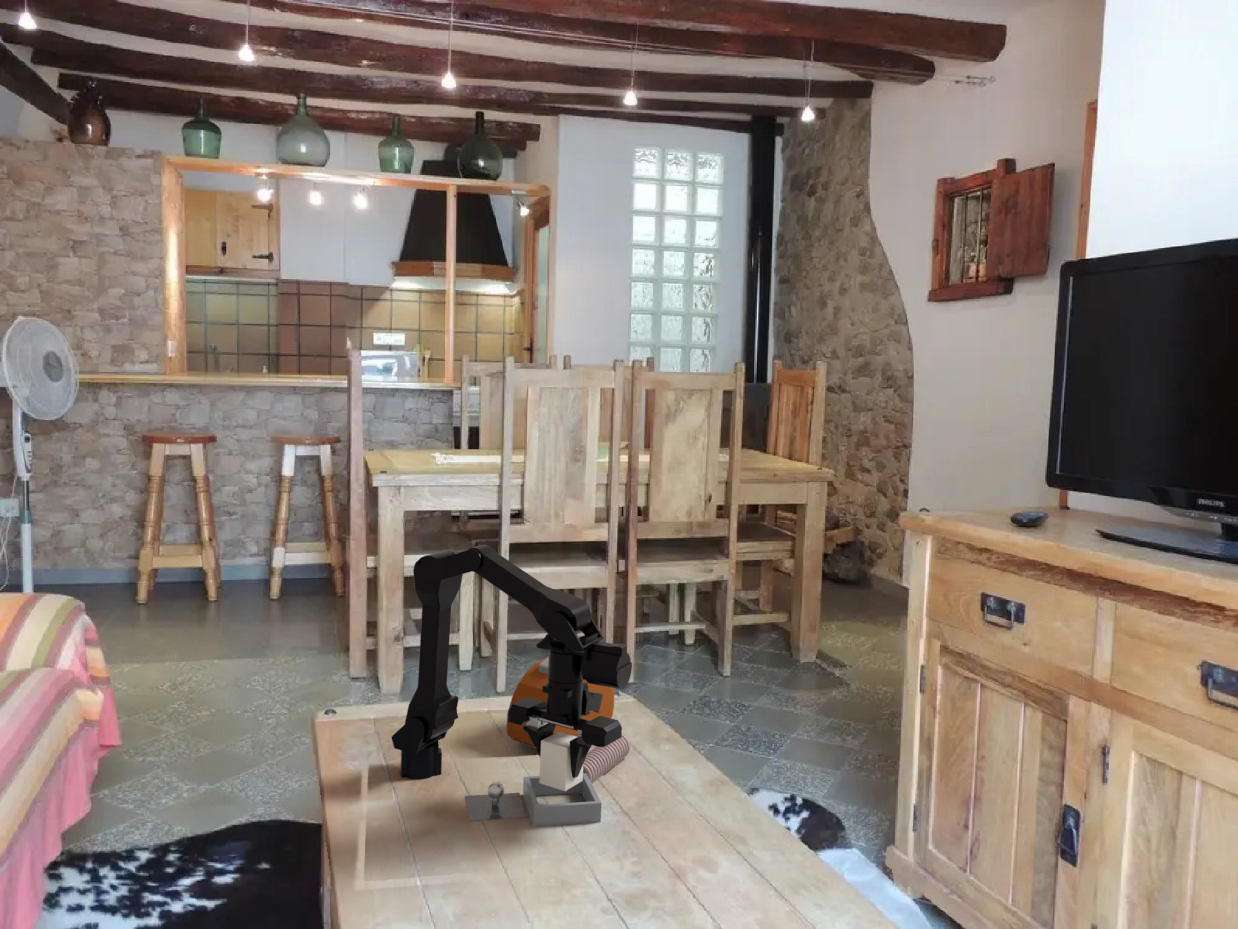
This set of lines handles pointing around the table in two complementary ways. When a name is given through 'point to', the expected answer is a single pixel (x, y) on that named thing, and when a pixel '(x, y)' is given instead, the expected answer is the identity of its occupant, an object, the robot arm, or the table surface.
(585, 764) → the coil
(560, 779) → the cream rectangular block
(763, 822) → the table surface
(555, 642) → the robot arm
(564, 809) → the bin
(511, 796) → the stud plate
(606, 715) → the orange grey rounded block
